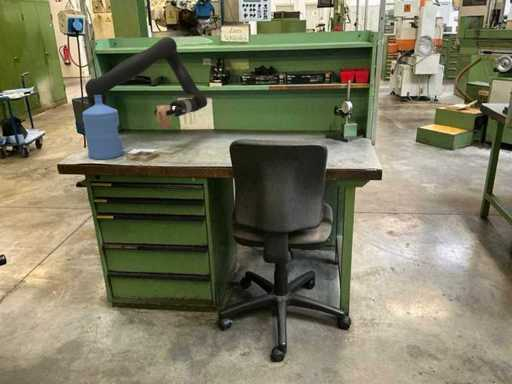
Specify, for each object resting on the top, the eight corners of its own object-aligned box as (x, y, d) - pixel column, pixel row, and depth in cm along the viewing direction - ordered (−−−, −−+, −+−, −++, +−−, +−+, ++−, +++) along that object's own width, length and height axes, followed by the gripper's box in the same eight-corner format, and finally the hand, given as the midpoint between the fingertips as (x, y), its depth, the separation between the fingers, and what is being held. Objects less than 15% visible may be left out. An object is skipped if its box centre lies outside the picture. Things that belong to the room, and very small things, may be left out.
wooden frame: (127, 159, 189) (126, 156, 188) (141, 153, 198) (141, 150, 197) (145, 161, 185) (145, 158, 185) (159, 155, 194) (159, 152, 193)
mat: (153, 152, 200) (153, 151, 199) (165, 147, 208) (165, 146, 208) (171, 154, 196) (170, 152, 196) (182, 149, 204) (182, 147, 204)
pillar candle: (153, 128, 194) (151, 107, 191) (163, 125, 201) (161, 104, 198) (164, 129, 192) (162, 107, 189) (174, 126, 199) (172, 105, 196)
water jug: (104, 161, 186) (95, 98, 177) (81, 157, 194) (71, 96, 184) (130, 153, 199) (123, 94, 189) (107, 150, 206) (99, 92, 197)
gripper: (168, 99, 209) (147, 104, 195) (192, 100, 204) (173, 105, 189) (169, 114, 212) (149, 120, 197) (193, 115, 206) (174, 122, 192)
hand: (161, 113), depth 193 cm, fingers closed on pillar candle, 6 cm apart
